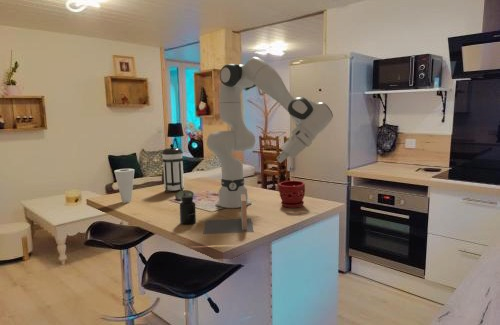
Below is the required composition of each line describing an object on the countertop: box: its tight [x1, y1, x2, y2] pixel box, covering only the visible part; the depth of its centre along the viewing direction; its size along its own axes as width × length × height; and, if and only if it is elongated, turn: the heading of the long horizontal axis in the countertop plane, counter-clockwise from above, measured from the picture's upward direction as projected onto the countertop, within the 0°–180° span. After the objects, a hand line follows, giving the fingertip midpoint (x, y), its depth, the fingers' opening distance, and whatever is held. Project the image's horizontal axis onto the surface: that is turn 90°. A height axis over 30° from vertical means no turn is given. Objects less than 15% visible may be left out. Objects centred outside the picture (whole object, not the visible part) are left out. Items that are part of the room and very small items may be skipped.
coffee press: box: [161, 143, 185, 194], centre depth 213 cm, size 17×16×30 cm
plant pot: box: [278, 180, 306, 209], centre depth 174 cm, size 13×13×12 cm
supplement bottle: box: [179, 195, 197, 226], centre depth 150 cm, size 7×7×12 cm
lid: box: [174, 189, 195, 201], centre depth 195 cm, size 11×10×5 cm
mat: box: [202, 217, 254, 235], centre depth 144 cm, size 18×20×1 cm
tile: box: [240, 194, 248, 230], centre depth 143 cm, size 12×2×12 cm, turn 3°
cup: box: [113, 168, 136, 204], centre depth 190 cm, size 11×11×18 cm
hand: (278, 161), depth 141 cm, fingers open, 2 cm apart
